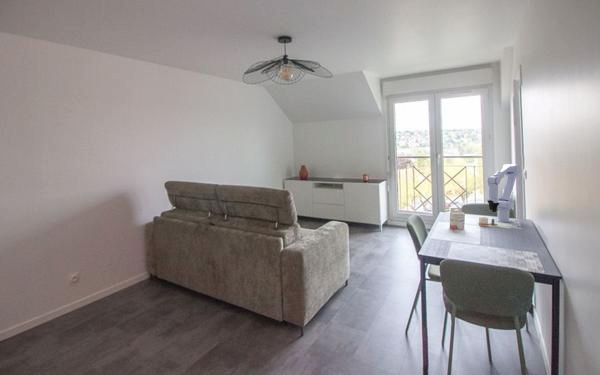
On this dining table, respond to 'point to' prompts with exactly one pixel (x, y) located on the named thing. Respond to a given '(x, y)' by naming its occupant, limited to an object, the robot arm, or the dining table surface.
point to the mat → (503, 224)
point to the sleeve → (483, 220)
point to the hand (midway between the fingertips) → (492, 210)
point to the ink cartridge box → (457, 218)
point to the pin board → (489, 224)
